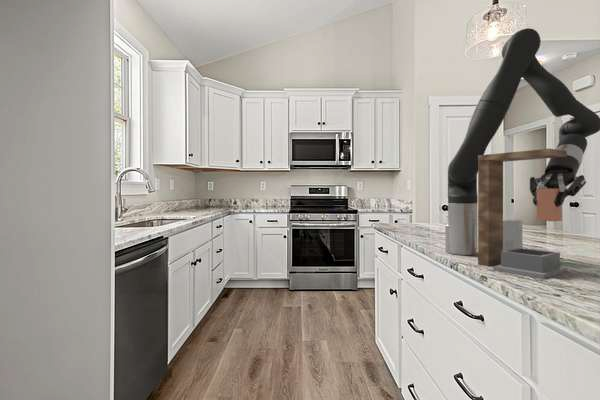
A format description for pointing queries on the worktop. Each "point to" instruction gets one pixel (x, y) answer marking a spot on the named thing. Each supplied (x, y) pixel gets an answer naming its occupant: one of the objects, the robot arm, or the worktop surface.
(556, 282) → the worktop surface
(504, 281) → the worktop surface
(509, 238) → the skincare box
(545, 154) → the wooden l-shaped bracket
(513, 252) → the socket
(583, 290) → the worktop surface
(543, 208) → the peg
